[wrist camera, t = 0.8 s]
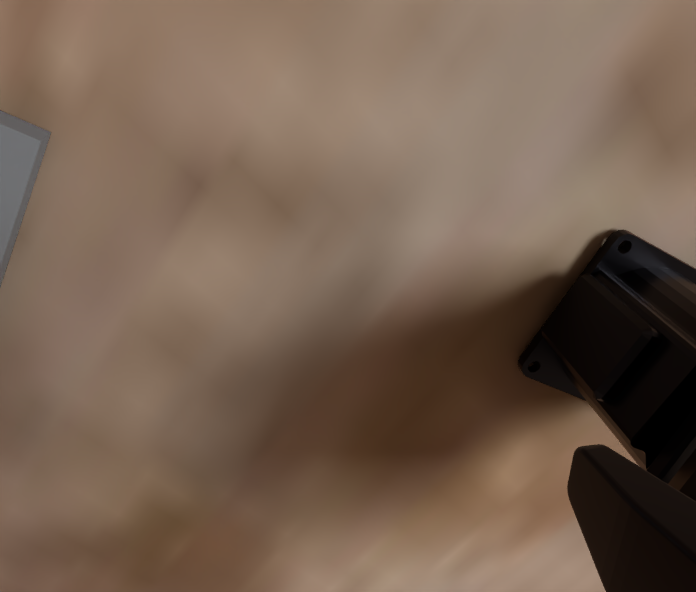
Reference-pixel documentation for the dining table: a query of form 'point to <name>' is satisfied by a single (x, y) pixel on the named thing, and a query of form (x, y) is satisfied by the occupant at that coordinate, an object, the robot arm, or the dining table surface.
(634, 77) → the dining table surface
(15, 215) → the dial board
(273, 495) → the dining table surface
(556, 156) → the dining table surface
